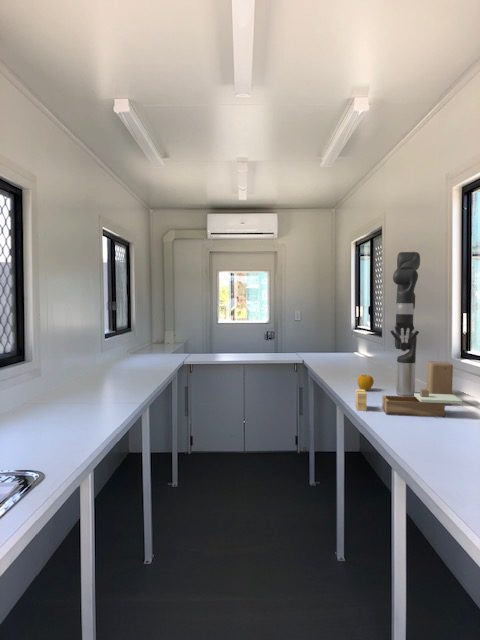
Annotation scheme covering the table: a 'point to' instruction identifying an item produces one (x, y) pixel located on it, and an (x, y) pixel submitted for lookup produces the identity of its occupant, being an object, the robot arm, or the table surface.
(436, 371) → the wooden block
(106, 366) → the table surface
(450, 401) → the lid
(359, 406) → the key
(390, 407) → the wooden box
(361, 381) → the apple
